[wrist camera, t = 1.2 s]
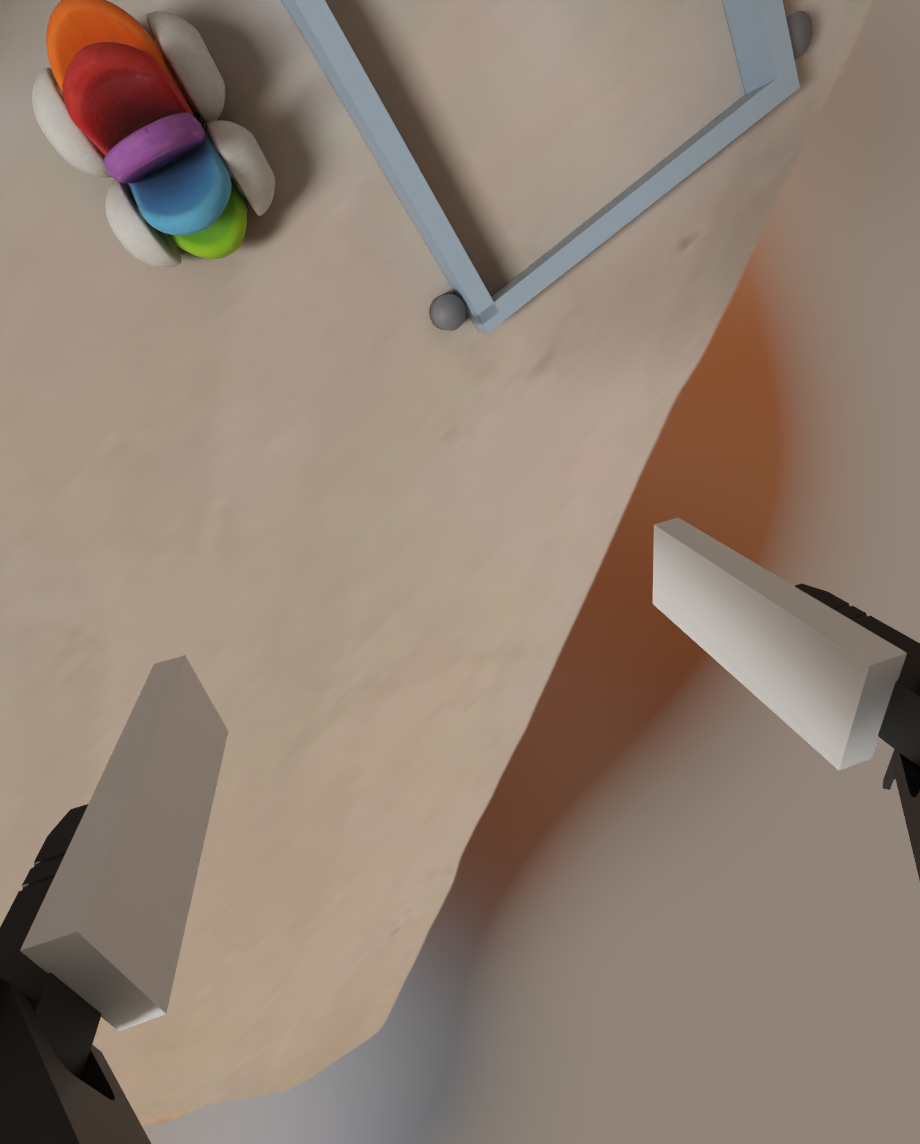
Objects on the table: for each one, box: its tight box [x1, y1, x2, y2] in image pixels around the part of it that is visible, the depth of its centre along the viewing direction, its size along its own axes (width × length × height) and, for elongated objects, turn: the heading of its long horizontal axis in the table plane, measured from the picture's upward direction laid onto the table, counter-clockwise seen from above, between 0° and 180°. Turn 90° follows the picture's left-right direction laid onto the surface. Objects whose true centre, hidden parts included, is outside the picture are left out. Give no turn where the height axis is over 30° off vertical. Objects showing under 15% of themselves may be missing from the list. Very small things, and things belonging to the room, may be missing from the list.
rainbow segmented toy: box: [32, 0, 275, 268], centre depth 24 cm, size 8×10×7 cm
